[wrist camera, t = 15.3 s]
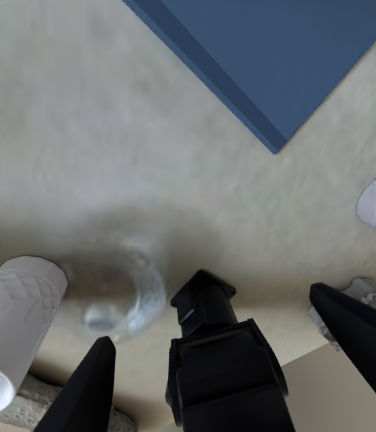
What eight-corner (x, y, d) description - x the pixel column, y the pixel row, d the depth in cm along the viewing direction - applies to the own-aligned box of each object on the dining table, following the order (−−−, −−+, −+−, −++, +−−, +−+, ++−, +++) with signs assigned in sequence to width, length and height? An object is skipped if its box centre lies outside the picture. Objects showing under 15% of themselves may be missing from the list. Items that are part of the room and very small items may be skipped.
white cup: (-3, 240, 19) (-151, 344, 10) (81, 262, 21) (23, 363, 12) (-11, 297, 22) (-134, 419, 12) (65, 311, 24) (8, 423, 15)
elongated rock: (-13, 327, 25) (-58, 357, 27) (-58, 374, 20) (-110, 408, 22) (156, 423, 38) (117, 439, 39) (153, 466, 33) (109, 482, 35)
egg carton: (315, 328, 33) (334, 354, 29) (301, 305, 29) (321, 330, 26) (376, 297, 31) (405, 321, 27) (368, 269, 28) (399, 291, 24)
